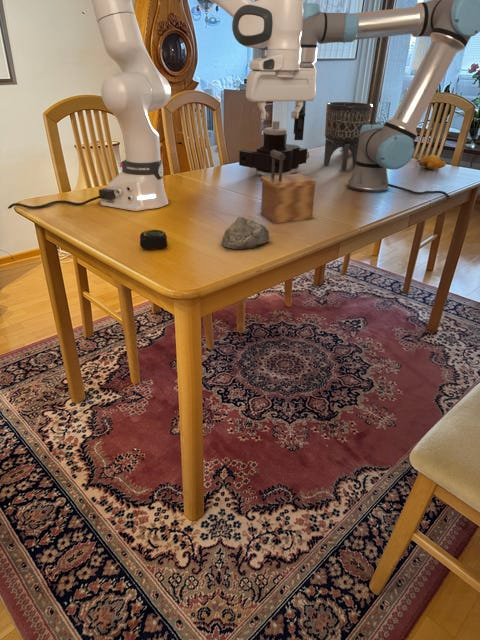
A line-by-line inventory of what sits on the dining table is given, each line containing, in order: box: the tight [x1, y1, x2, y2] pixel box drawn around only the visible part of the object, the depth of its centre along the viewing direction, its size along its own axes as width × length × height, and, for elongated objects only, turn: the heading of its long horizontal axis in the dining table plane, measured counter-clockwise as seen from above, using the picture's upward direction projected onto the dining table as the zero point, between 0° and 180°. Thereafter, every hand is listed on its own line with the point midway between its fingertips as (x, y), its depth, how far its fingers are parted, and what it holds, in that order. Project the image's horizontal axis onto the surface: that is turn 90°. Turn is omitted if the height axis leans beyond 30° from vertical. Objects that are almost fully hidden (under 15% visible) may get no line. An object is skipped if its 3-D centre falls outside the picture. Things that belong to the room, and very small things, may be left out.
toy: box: [417, 154, 447, 171], centre depth 211 cm, size 11×6×15 cm
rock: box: [221, 216, 270, 250], centre depth 119 cm, size 13×9×6 cm, turn 131°
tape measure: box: [139, 229, 168, 250], centre depth 117 cm, size 7×7×4 cm
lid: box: [259, 150, 317, 188], centre depth 136 cm, size 14×10×9 cm
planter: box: [323, 101, 374, 172], centre depth 204 cm, size 20×20×26 cm
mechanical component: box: [238, 120, 311, 177], centre depth 191 cm, size 22×21×30 cm
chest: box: [260, 181, 316, 224], centre depth 141 cm, size 13×10×11 cm
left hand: (279, 119), depth 128 cm, fingers open, 8 cm apart
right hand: (297, 136), depth 152 cm, fingers open, 13 cm apart
